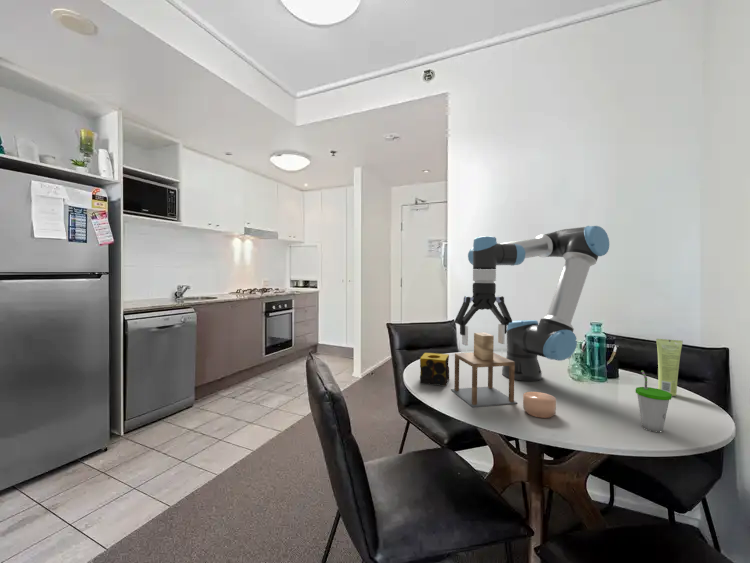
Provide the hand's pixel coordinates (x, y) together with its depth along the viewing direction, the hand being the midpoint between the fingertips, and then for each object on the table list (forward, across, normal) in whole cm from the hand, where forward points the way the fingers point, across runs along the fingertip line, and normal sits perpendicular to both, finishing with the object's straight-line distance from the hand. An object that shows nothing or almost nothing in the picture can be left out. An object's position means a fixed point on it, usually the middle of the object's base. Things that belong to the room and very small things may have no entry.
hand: (483, 344), depth 118 cm
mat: (+18, 0, 0) cm, 18 cm away
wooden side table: (+18, 0, 0) cm, 18 cm away
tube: (+18, -66, +10) cm, 69 cm away
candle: (+18, +10, -19) cm, 28 cm away
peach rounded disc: (+18, -10, +16) cm, 26 cm away
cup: (+18, -34, +31) cm, 50 cm away
